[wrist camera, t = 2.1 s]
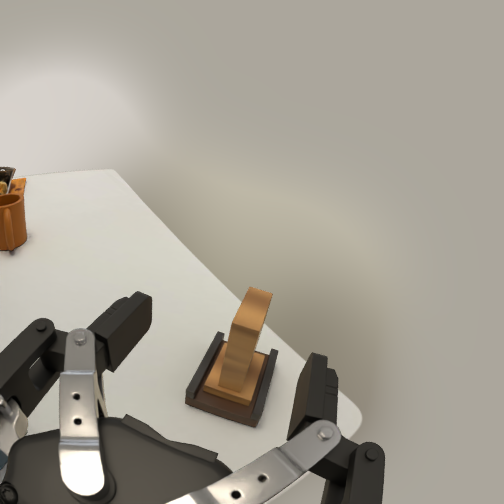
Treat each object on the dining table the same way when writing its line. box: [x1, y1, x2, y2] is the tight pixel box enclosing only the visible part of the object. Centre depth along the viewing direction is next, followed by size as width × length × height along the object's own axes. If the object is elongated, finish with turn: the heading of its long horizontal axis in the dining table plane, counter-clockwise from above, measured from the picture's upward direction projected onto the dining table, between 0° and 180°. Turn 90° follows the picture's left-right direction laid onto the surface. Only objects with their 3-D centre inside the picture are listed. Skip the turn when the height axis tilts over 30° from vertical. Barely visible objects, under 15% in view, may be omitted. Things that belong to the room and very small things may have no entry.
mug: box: [0, 193, 27, 251], centre depth 40 cm, size 9×12×9 cm
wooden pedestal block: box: [203, 287, 273, 406], centre depth 28 cm, size 7×5×10 cm
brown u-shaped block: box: [185, 331, 278, 427], centre depth 30 cm, size 10×8×3 cm
